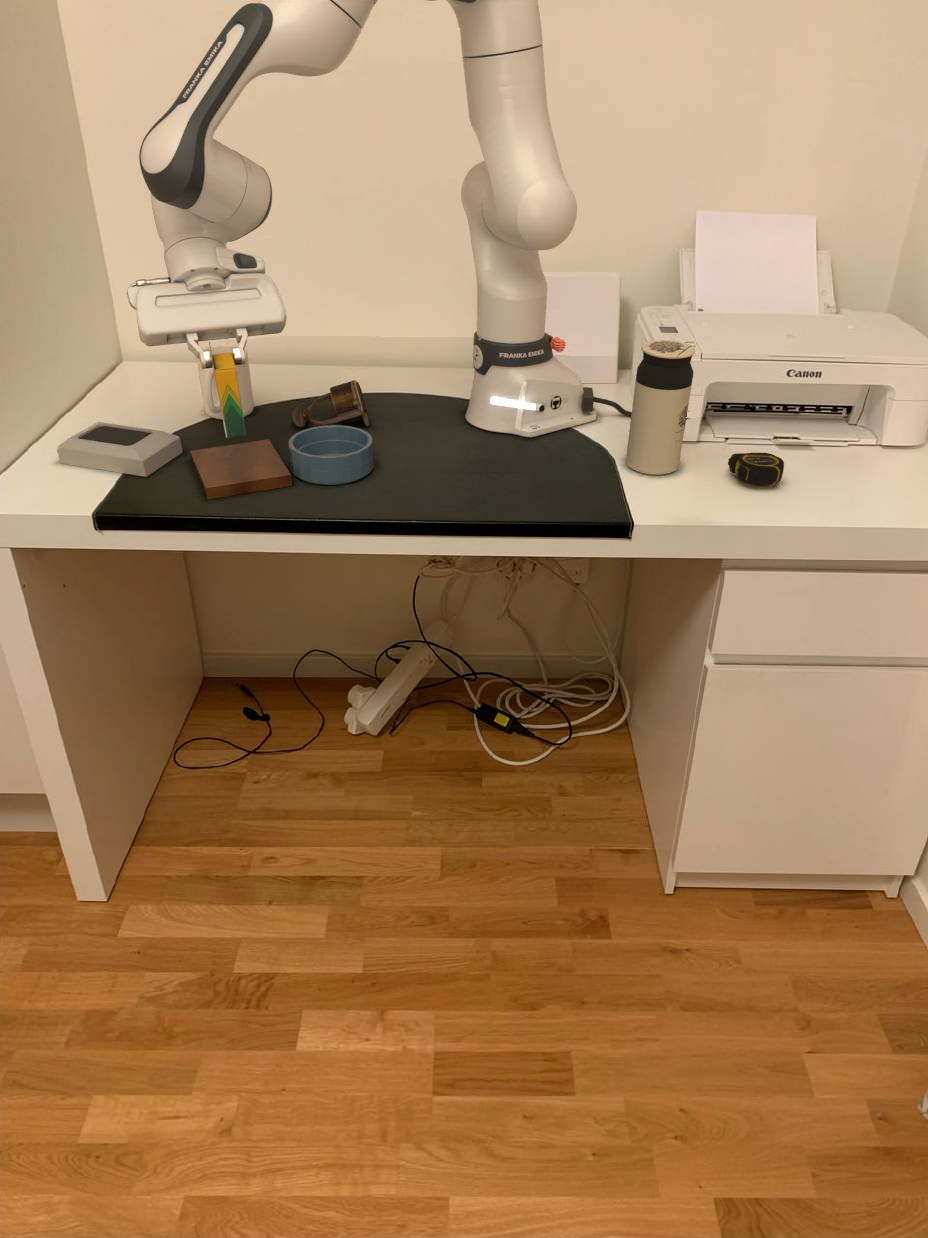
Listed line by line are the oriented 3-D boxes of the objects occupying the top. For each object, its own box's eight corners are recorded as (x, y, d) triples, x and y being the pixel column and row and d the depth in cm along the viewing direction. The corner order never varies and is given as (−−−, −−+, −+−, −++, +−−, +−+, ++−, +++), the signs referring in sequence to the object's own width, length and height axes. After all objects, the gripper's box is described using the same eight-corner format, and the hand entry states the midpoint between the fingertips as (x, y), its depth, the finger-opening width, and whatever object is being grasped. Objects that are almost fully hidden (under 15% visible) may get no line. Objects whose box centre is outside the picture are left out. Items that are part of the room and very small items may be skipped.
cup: (261, 404, 153) (254, 346, 147) (236, 429, 143) (228, 368, 137) (216, 401, 154) (207, 343, 148) (188, 426, 144) (178, 365, 138)
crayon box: (247, 436, 123) (233, 354, 116) (226, 439, 122) (210, 356, 115) (243, 417, 128) (229, 338, 122) (222, 420, 128) (207, 340, 121)
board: (270, 450, 136) (268, 439, 135) (292, 485, 126) (291, 474, 125) (191, 461, 132) (189, 450, 131) (207, 499, 122) (205, 487, 121)
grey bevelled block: (141, 453, 126) (54, 439, 129) (146, 476, 128) (60, 463, 131) (178, 429, 133) (95, 417, 137) (182, 452, 135) (100, 439, 139)
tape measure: (769, 471, 132) (774, 448, 130) (787, 491, 126) (793, 467, 124) (725, 472, 131) (730, 449, 129) (741, 492, 126) (746, 468, 124)
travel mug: (615, 466, 133) (629, 347, 123) (642, 450, 138) (657, 335, 128) (662, 481, 129) (680, 359, 118) (687, 464, 134) (707, 346, 124)
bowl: (359, 447, 137) (357, 420, 135) (384, 478, 128) (383, 449, 126) (283, 459, 133) (279, 431, 131) (303, 491, 124) (300, 462, 122)
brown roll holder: (360, 407, 137) (378, 373, 144) (283, 393, 139) (304, 360, 145) (361, 444, 143) (379, 411, 149) (287, 430, 144) (307, 398, 151)
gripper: (122, 267, 116) (145, 361, 114) (274, 256, 123) (298, 345, 121) (125, 294, 122) (147, 384, 120) (270, 282, 129) (293, 367, 127)
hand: (224, 364), depth 121 cm, fingers closed on crayon box, 3 cm apart
